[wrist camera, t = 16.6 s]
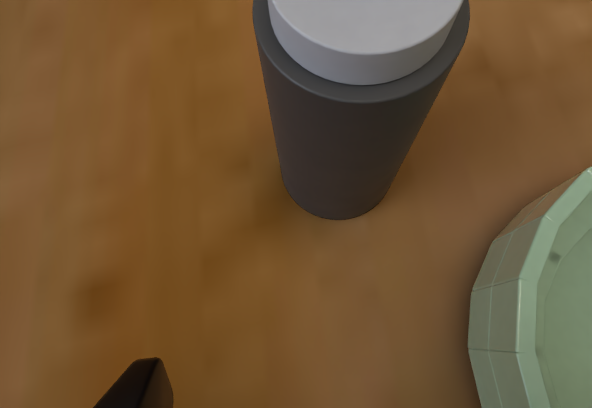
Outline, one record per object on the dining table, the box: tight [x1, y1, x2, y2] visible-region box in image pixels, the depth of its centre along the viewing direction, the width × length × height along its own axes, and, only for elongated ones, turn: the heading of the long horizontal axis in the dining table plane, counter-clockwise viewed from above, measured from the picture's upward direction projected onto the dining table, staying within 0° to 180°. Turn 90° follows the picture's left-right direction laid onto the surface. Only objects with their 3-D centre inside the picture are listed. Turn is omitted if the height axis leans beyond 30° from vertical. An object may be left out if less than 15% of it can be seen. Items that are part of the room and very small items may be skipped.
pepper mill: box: [253, 0, 470, 220], centre depth 14 cm, size 5×5×13 cm
